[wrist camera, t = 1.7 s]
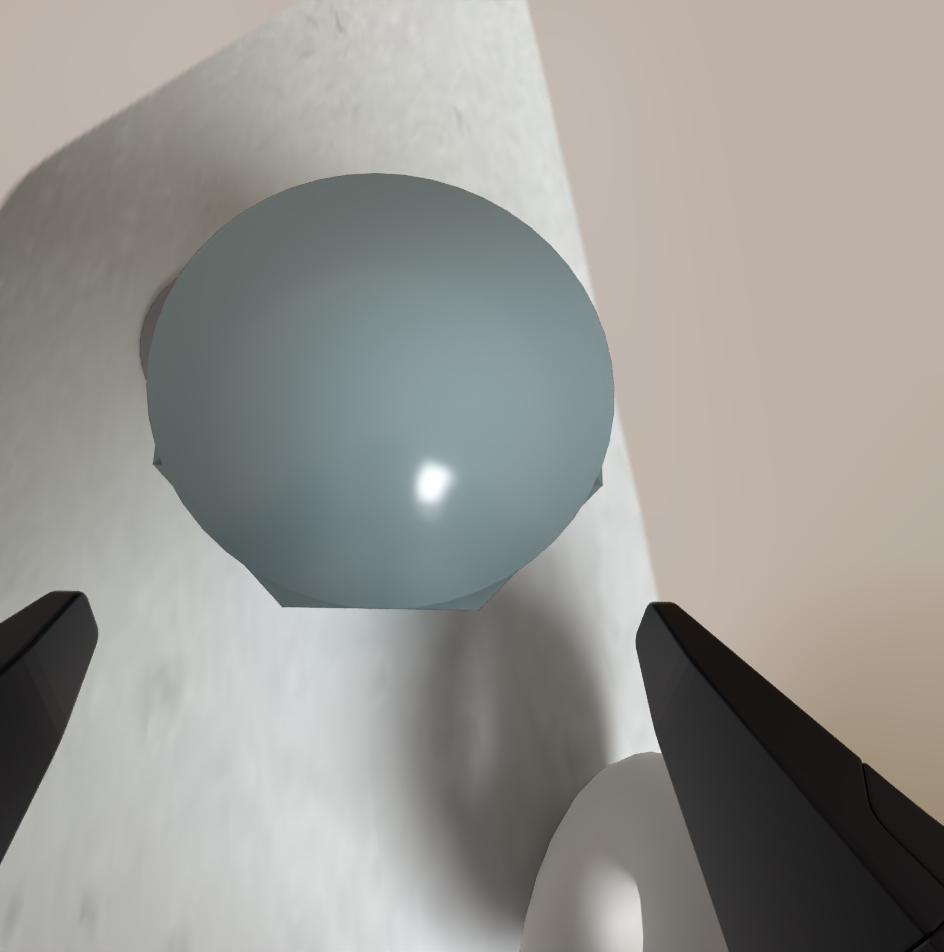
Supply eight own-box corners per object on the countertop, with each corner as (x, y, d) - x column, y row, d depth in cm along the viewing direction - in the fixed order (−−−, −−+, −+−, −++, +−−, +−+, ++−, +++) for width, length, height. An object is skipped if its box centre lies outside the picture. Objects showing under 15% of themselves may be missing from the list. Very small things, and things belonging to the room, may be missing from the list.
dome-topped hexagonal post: (517, 517, 21) (699, 394, 9) (385, 646, 19) (375, 721, 7) (397, 391, 21) (408, 102, 9) (258, 507, 20) (38, 347, 7)
